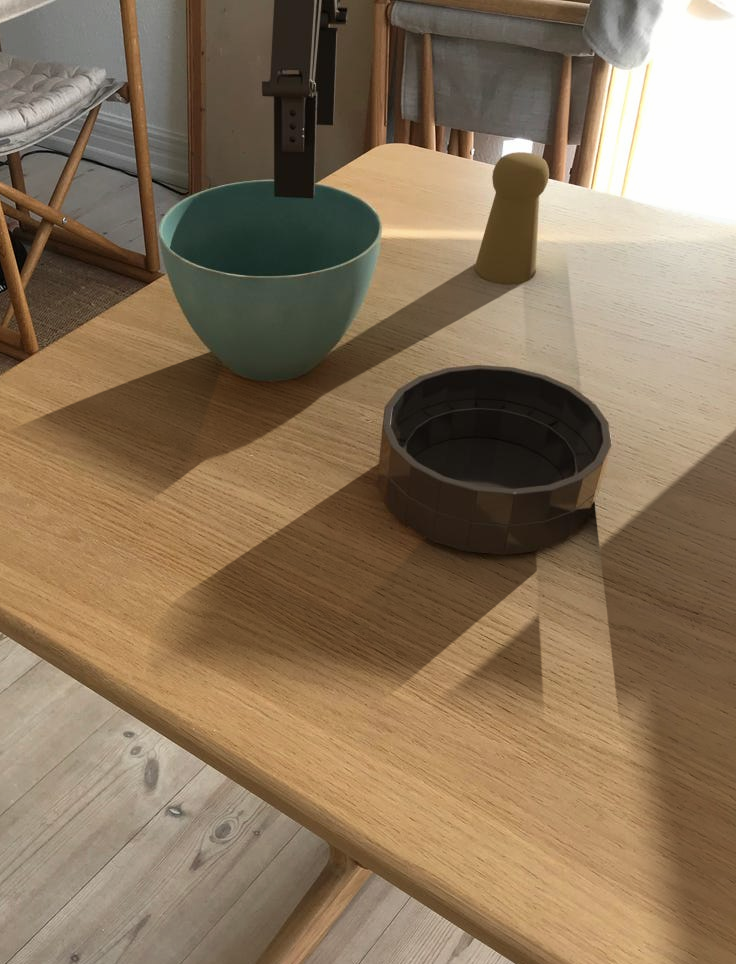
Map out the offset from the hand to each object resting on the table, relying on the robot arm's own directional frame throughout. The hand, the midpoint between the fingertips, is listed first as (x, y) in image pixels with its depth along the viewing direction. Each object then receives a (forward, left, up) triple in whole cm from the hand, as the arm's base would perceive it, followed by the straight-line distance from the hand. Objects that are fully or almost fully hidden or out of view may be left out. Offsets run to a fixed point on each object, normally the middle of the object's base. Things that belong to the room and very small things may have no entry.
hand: (306, 157), depth 76 cm
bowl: (-16, +12, -20) cm, 28 cm away
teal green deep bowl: (+3, -5, -20) cm, 21 cm away
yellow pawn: (-18, -25, -20) cm, 36 cm away
